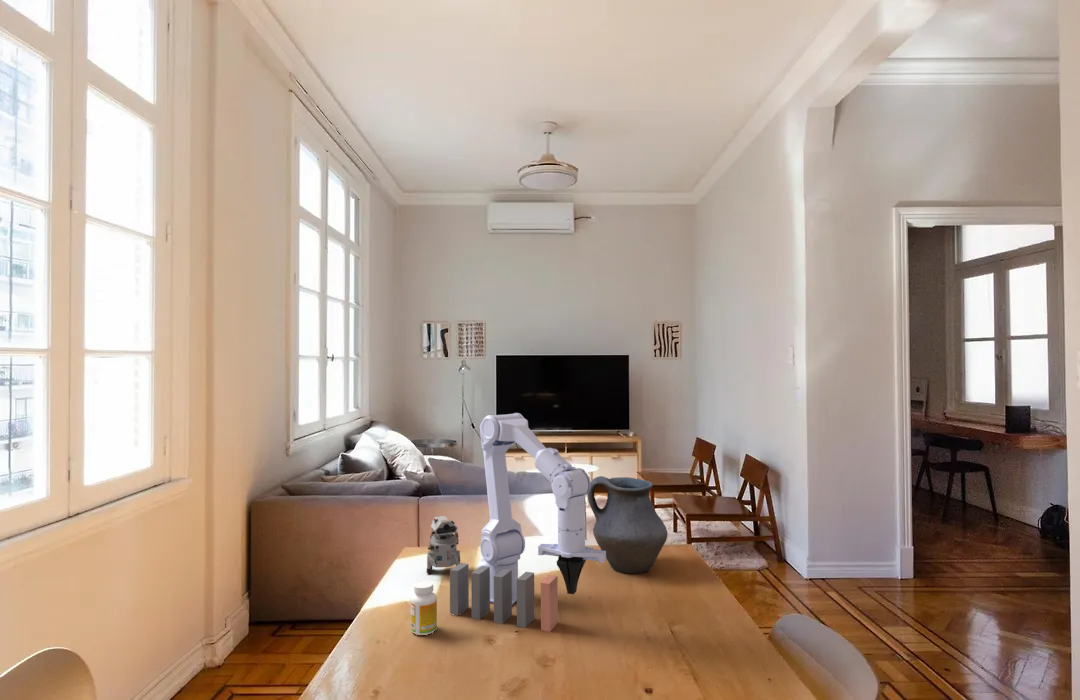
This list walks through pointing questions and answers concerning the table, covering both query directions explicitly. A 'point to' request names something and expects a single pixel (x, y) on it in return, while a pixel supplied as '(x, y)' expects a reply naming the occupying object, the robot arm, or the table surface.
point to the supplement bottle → (423, 609)
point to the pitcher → (627, 524)
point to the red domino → (549, 603)
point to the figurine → (443, 544)
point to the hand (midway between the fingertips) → (571, 592)
